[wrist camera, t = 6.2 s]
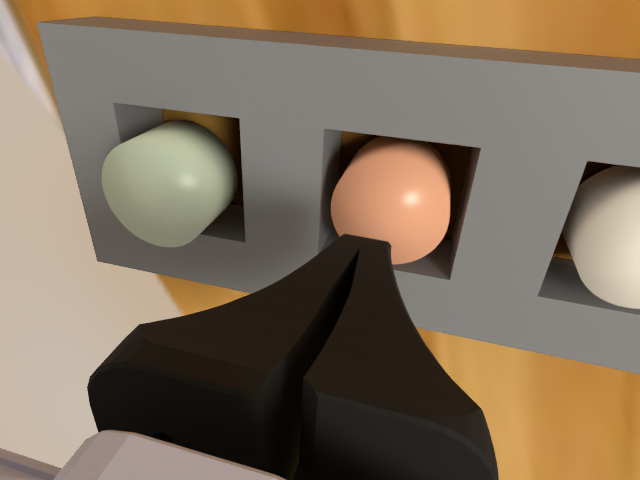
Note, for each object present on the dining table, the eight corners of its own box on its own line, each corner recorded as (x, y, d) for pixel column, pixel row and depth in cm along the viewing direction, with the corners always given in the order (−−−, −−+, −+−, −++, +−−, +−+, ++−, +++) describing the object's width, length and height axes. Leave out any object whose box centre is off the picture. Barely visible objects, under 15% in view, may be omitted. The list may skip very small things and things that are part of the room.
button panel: (136, 230, 23) (97, 261, 21) (95, 16, 18) (36, 22, 16) (706, 338, 18) (747, 396, 15) (877, 77, 13) (980, 101, 10)
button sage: (153, 208, 19) (113, 237, 17) (137, 114, 17) (90, 133, 15) (239, 223, 18) (210, 255, 16) (234, 126, 16) (199, 149, 14)
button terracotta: (343, 222, 19) (327, 253, 16) (350, 127, 17) (334, 149, 14) (440, 238, 18) (437, 273, 16) (460, 141, 16) (461, 166, 14)
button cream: (546, 255, 17) (559, 295, 15) (582, 155, 15) (603, 184, 13) (663, 274, 16) (695, 319, 14) (718, 171, 14) (766, 206, 12)
